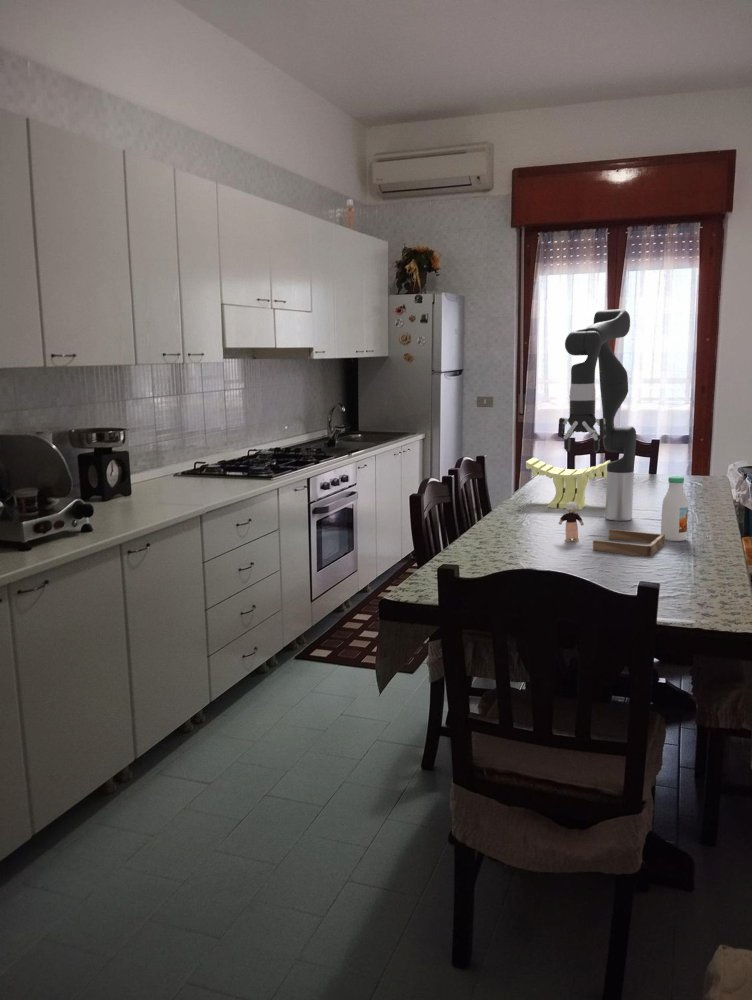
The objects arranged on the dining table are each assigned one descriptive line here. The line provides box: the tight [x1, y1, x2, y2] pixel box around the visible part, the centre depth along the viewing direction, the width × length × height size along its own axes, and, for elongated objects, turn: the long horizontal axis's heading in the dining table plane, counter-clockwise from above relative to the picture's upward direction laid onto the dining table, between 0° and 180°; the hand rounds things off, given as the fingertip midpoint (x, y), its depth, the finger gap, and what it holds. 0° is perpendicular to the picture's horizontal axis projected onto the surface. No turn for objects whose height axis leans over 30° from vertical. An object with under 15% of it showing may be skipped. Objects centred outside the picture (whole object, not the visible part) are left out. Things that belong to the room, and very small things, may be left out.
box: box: [592, 529, 666, 557], centre depth 244 cm, size 18×17×3 cm
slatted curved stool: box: [525, 457, 611, 510], centre depth 313 cm, size 30×16×18 cm, turn 66°
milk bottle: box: [660, 475, 689, 542], centre depth 252 cm, size 8×8×20 cm
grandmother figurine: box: [558, 502, 585, 543], centre depth 253 cm, size 8×4×13 cm, turn 92°
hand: (581, 451), depth 244 cm, fingers open, 8 cm apart
